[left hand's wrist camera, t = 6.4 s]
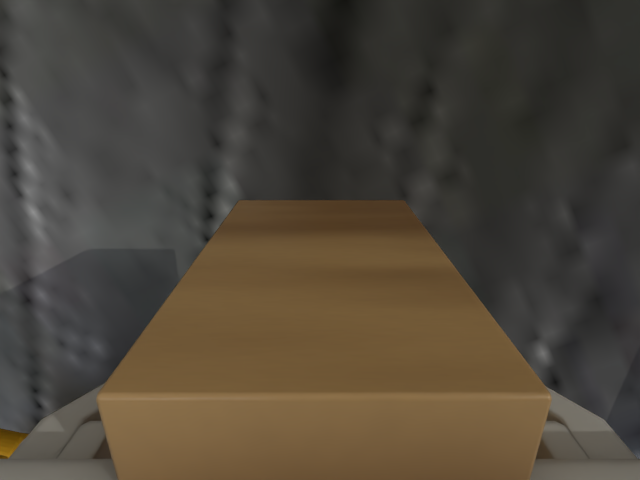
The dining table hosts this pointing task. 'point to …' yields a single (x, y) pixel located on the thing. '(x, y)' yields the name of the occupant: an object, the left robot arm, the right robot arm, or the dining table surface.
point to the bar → (323, 359)
